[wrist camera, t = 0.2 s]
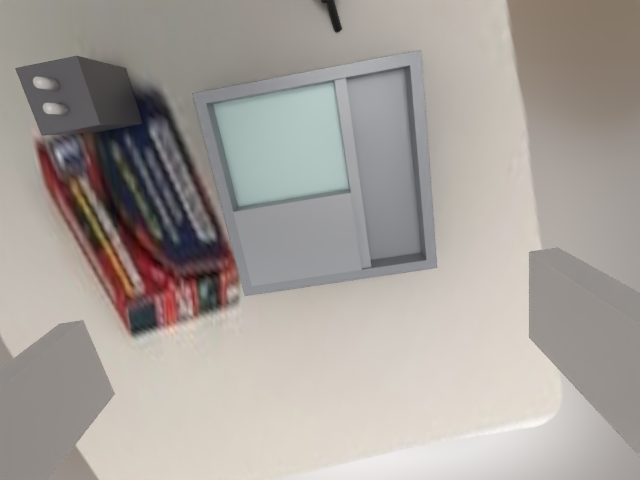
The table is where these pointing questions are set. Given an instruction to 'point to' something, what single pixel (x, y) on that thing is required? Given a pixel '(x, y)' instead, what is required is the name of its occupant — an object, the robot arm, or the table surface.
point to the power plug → (333, 14)
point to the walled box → (323, 173)
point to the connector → (79, 96)
